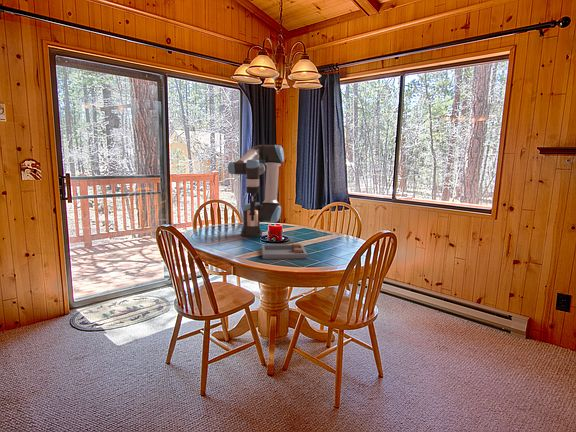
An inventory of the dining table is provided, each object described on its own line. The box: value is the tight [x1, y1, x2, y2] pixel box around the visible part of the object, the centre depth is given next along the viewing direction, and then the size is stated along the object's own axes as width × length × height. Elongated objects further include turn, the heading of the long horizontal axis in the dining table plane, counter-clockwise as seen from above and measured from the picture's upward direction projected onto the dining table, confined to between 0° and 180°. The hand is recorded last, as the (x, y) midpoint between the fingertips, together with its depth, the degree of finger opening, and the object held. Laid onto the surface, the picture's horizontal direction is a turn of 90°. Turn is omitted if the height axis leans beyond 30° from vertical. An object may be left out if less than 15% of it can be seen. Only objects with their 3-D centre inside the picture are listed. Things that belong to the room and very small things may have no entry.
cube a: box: [291, 243, 301, 252], centre depth 220 cm, size 4×4×4 cm
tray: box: [261, 243, 308, 260], centre depth 214 cm, size 21×25×3 cm
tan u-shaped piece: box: [247, 210, 258, 226], centre depth 216 cm, size 6×6×9 cm
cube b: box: [294, 248, 302, 253], centre depth 210 cm, size 4×4×4 cm
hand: (252, 224), depth 217 cm, fingers closed on tan u-shaped piece, 6 cm apart
